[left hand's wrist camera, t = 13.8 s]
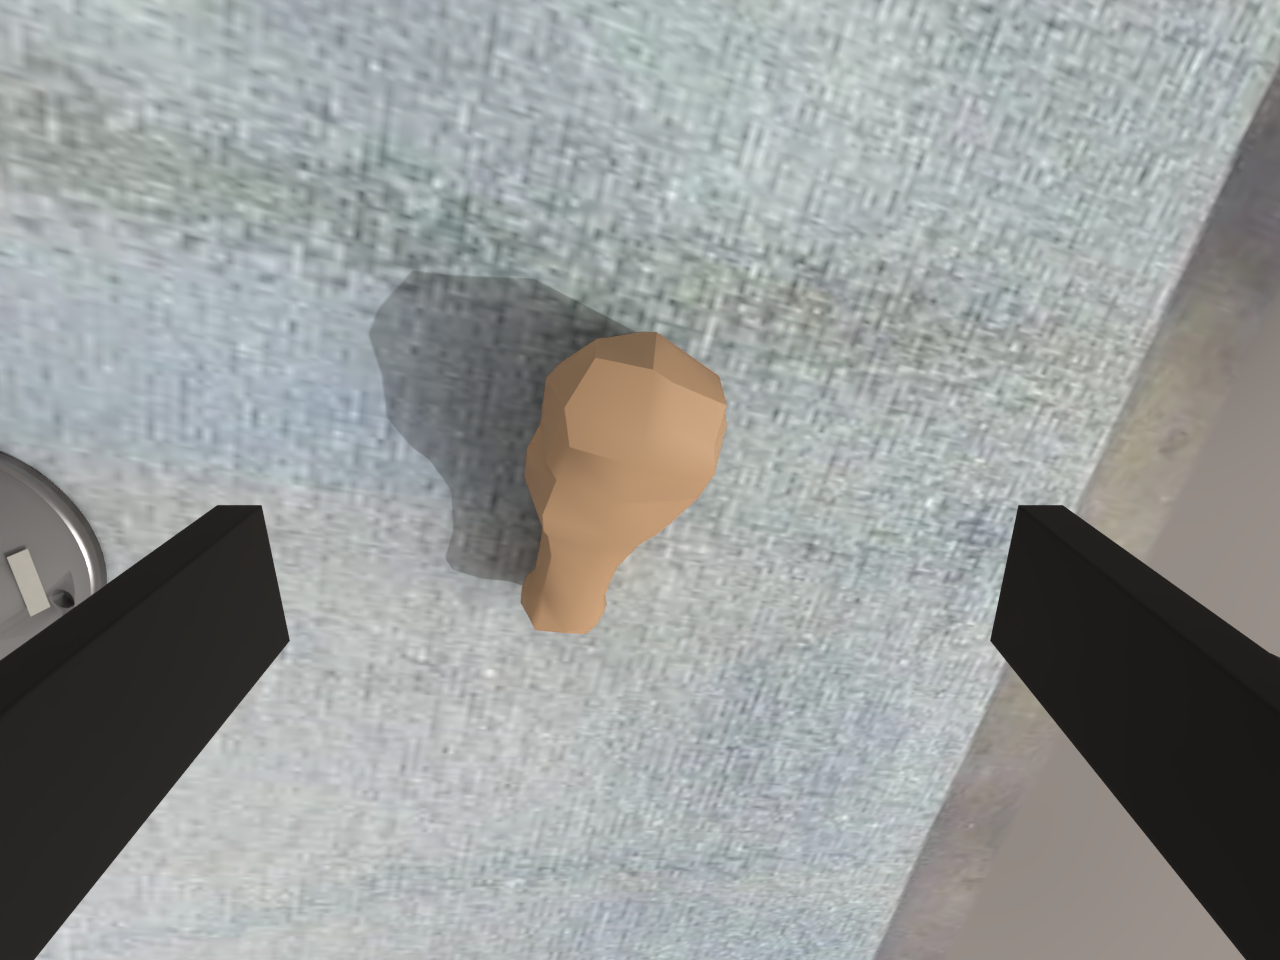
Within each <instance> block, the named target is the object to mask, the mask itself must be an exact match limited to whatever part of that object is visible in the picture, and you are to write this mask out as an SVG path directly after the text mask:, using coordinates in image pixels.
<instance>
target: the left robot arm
mask: <svg viewBox="0 0 1280 960" xmlns="http://www.w3.org/2000/svg"><path fill="white" fill-rule="evenodd" d="M289 641H290V640H289V635H288V630H287V625H286V620H285V616H284V611H283V606H282V601H281V596H280V592H279V587H278V582H277V577H276V572H275V568H274V563H273V558H272V553H271V548H270V544H269V539H268V534H267V529H266V524H265V520H264V515H263V510H262V505H217V506H216V507H214V508H213V509H211V510H210V511H209V512H207V513H206V514H204V515H203V516H202V517H200V518H199V519H197V520H196V521H195V522H193V523H192V524H190V525H189V526H188V527H186V528H185V529H183V530H182V531H181V532H179V533H178V534H176V535H175V536H174V537H172V538H171V539H169V540H168V541H167V542H165V543H164V544H162V545H161V546H160V547H158V548H157V549H155V550H154V551H153V552H151V553H150V554H148V555H147V556H146V557H144V558H143V559H141V560H140V561H139V562H137V563H136V564H134V565H133V566H132V567H130V568H129V569H127V570H126V571H125V572H123V573H122V574H120V575H119V576H118V577H116V578H115V579H113V580H112V581H111V582H109V583H108V584H107V574H106V565H105V561H104V556H103V553H102V550H101V547H100V544H99V542H98V540H97V537H96V535H95V533H94V531H93V530H92V528H91V526H90V524H89V523H88V521H87V520H86V518H85V517H84V515H83V514H82V513H81V511H80V510H79V509H78V508H77V506H76V505H75V504H74V503H73V502H72V501H71V500H70V499H69V498H68V497H67V495H66V494H65V493H63V492H62V491H61V490H60V489H59V488H58V487H57V486H56V485H55V484H53V483H52V482H51V481H49V480H48V479H47V478H46V477H44V476H43V475H41V474H40V473H38V472H37V471H35V470H34V469H32V468H31V467H29V466H27V465H25V464H24V463H22V462H20V461H18V460H16V459H14V458H12V457H9V456H7V455H4V454H2V453H0V960H34V959H35V958H36V957H37V955H38V954H39V953H40V952H41V950H42V949H43V948H44V947H45V945H46V944H47V943H48V942H49V940H50V939H51V938H52V937H53V935H54V934H55V933H56V932H57V930H58V929H59V928H60V927H61V926H62V924H63V923H64V922H65V921H66V919H67V918H68V917H69V916H70V914H71V913H72V912H73V911H74V909H75V908H76V907H77V906H78V904H79V903H80V902H81V901H82V899H83V898H84V897H85V896H86V894H87V893H88V892H89V891H90V889H91V888H92V887H93V886H94V884H95V883H96V882H97V881H98V879H99V878H100V877H101V876H102V874H103V873H104V872H105V871H106V869H107V868H108V867H109V866H110V864H111V863H112V862H113V861H114V859H115V858H116V857H117V856H118V854H119V853H120V852H121V851H122V849H123V848H124V847H125V846H126V844H127V843H128V842H129V841H130V839H131V838H132V837H133V836H134V834H135V833H136V832H137V831H138V829H139V828H140V827H141V826H142V824H143V823H144V822H145V821H146V819H147V818H148V817H149V816H150V814H151V813H152V812H153V811H154V809H155V808H156V807H157V806H158V804H159V803H160V802H161V801H162V799H163V798H164V797H165V796H166V794H167V793H168V792H169V791H170V789H171V788H172V787H173V786H174V784H175V783H176V782H177V781H178V779H179V778H180V777H181V776H182V774H183V773H184V772H185V771H186V769H187V768H188V767H189V766H190V764H191V763H192V762H193V761H194V759H195V758H196V757H197V756H198V755H199V753H200V752H201V751H202V750H203V748H204V747H205V746H206V745H207V743H208V742H209V741H210V740H211V738H212V737H213V736H214V735H215V733H216V732H217V731H218V730H219V728H220V727H221V726H222V725H223V723H224V722H225V721H226V720H227V718H228V717H229V716H230V715H231V713H232V712H233V711H234V710H235V708H236V707H237V706H238V705H239V703H240V702H241V701H242V700H243V698H244V697H245V696H246V695H247V693H248V692H249V691H250V690H251V688H252V687H253V686H254V685H255V683H256V682H257V681H258V680H259V678H260V677H261V676H262V675H263V673H264V672H265V671H266V670H267V668H268V667H269V666H270V665H271V663H272V662H273V661H274V660H275V658H276V657H277V656H278V655H279V653H280V652H281V651H282V650H283V648H284V647H285V646H286V645H287V643H288V642H289ZM990 641H991V642H992V643H993V645H994V646H995V647H996V648H997V650H998V651H999V652H1000V653H1001V655H1002V656H1003V657H1004V658H1005V660H1006V661H1007V662H1008V663H1009V665H1010V666H1011V667H1012V668H1013V670H1014V671H1015V672H1016V673H1017V675H1018V676H1019V677H1020V678H1021V680H1022V681H1023V682H1024V683H1025V685H1026V686H1027V687H1028V688H1029V690H1030V691H1031V692H1032V693H1033V695H1034V696H1035V697H1036V698H1037V700H1038V701H1039V702H1040V703H1041V705H1042V706H1043V707H1044V708H1045V710H1046V711H1047V712H1048V713H1049V715H1050V716H1051V717H1052V718H1053V720H1054V721H1055V722H1056V723H1057V725H1058V726H1059V727H1060V728H1061V730H1062V731H1063V732H1064V733H1065V735H1066V736H1067V737H1068V738H1069V739H1070V741H1071V742H1072V743H1073V744H1074V746H1075V747H1076V748H1077V750H1078V751H1079V752H1080V753H1081V755H1082V756H1083V757H1084V758H1085V759H1086V761H1087V762H1088V763H1089V764H1090V766H1091V767H1092V768H1093V769H1094V771H1095V772H1096V773H1097V774H1098V776H1099V777H1100V778H1101V779H1102V781H1103V782H1104V783H1105V784H1106V786H1107V787H1108V788H1109V789H1110V791H1111V792H1112V793H1113V794H1114V796H1115V797H1116V798H1117V799H1118V801H1119V802H1120V803H1121V804H1122V806H1123V807H1124V808H1125V809H1126V811H1127V812H1128V813H1129V814H1130V816H1131V817H1132V818H1133V819H1134V821H1135V822H1136V823H1137V824H1138V826H1139V827H1140V828H1141V829H1142V831H1143V832H1144V833H1145V834H1146V836H1147V837H1148V838H1149V839H1150V841H1151V842H1152V843H1153V844H1154V846H1155V847H1156V848H1157V849H1158V851H1159V852H1160V853H1161V854H1162V856H1163V857H1164V858H1165V859H1166V861H1167V862H1168V863H1169V864H1170V866H1171V867H1172V868H1173V869H1174V871H1175V872H1176V873H1177V874H1178V876H1179V877H1180V878H1181V879H1182V881H1183V882H1184V883H1185V884H1186V886H1187V887H1188V888H1189V889H1190V891H1191V892H1192V893H1193V894H1194V896H1195V897H1196V898H1197V899H1198V901H1199V902H1200V903H1201V904H1202V906H1203V907H1204V908H1205V909H1206V911H1207V912H1208V913H1209V914H1210V916H1211V917H1212V918H1213V919H1214V921H1215V922H1216V923H1217V924H1218V926H1219V927H1220V928H1221V929H1222V931H1223V932H1224V933H1225V934H1226V935H1227V937H1228V938H1229V939H1230V940H1231V942H1232V943H1233V944H1234V945H1235V947H1236V948H1237V949H1238V950H1239V952H1240V953H1241V954H1242V955H1243V957H1244V958H1245V959H1246V960H1280V658H1279V657H1277V656H1275V655H1273V654H1270V653H1269V652H1267V651H1266V650H1265V649H1263V648H1262V647H1260V646H1259V645H1258V644H1256V643H1255V642H1253V641H1252V640H1251V639H1249V638H1248V637H1246V636H1245V635H1244V634H1242V633H1241V632H1239V631H1238V630H1236V629H1235V628H1234V627H1232V626H1231V625H1230V624H1228V623H1227V622H1225V621H1224V620H1222V619H1221V618H1220V617H1218V616H1217V615H1216V614H1214V613H1213V612H1211V611H1210V610H1209V609H1207V608H1206V607H1204V606H1203V605H1202V604H1200V603H1199V602H1197V601H1196V600H1194V599H1193V598H1192V597H1190V596H1189V595H1188V594H1186V593H1185V592H1183V591H1182V590H1180V589H1179V588H1178V587H1176V586H1175V585H1173V584H1172V583H1171V582H1169V581H1168V580H1167V579H1165V578H1164V577H1162V576H1161V575H1159V574H1158V573H1157V572H1155V571H1154V570H1153V569H1151V568H1150V567H1148V566H1147V565H1146V564H1144V563H1143V562H1141V561H1140V560H1139V559H1137V558H1136V557H1134V556H1133V555H1132V554H1130V553H1129V552H1127V551H1126V550H1125V549H1123V548H1122V547H1120V546H1119V545H1118V544H1116V543H1115V542H1113V541H1112V540H1111V539H1109V538H1108V537H1106V536H1105V535H1104V534H1102V533H1101V532H1099V531H1098V530H1097V529H1095V528H1094V527H1092V526H1091V525H1090V524H1088V523H1087V522H1085V521H1084V520H1083V519H1081V518H1080V517H1078V516H1077V515H1076V514H1074V513H1073V512H1071V511H1070V510H1069V509H1067V508H1066V507H1064V506H1063V505H1018V510H1017V515H1016V520H1015V524H1014V529H1013V534H1012V539H1011V544H1010V548H1009V553H1008V558H1007V563H1006V568H1005V572H1004V577H1003V582H1002V587H1001V592H1000V596H999V601H998V606H997V611H996V616H995V620H994V625H993V630H992V635H991V640H990Z"/></svg>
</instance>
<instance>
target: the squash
mask: <svg viewBox="0 0 1280 960" xmlns="http://www.w3.org/2000/svg"><path fill="white" fill-rule="evenodd" d="M726 406H727V405H726V401H725V397H724V393H723V390H722V386H721V382H720V378H719V376H718V375H717V374H715V373H714V372H712V371H711V370H710V369H708V368H707V367H705V366H704V365H702V364H701V363H700V362H698V361H697V360H695V359H694V358H693V357H691V356H690V355H688V354H687V353H685V352H684V351H683V350H681V349H680V348H678V347H677V346H676V345H674V344H673V343H671V342H670V341H668V340H667V339H666V338H664V337H663V336H661V335H660V334H658V333H657V332H637V333H631V334H625V335H619V336H614V337H607V338H598V339H596V340H594V341H593V342H591V343H589V344H588V345H586V346H585V347H583V348H582V349H580V350H579V351H577V352H576V353H574V354H573V355H571V356H570V357H568V358H566V359H565V360H563V361H562V362H560V363H559V364H558V365H557V366H556V367H555V368H554V370H553V371H552V372H551V373H550V374H549V375H548V376H547V378H546V382H545V390H544V398H543V405H542V413H541V421H540V425H539V427H538V428H537V430H536V432H535V434H534V436H533V438H532V440H531V442H530V443H529V445H528V447H527V453H526V464H525V475H524V478H525V481H526V484H527V486H528V489H529V492H530V495H531V497H532V500H533V503H534V506H535V509H536V511H537V514H538V517H539V520H540V523H541V525H542V534H541V541H540V546H539V551H538V556H537V561H536V566H535V569H534V570H533V571H532V572H530V573H529V574H528V575H527V576H526V579H525V581H524V584H523V586H522V594H521V604H522V606H523V607H524V609H525V611H526V613H527V615H528V617H529V618H530V620H531V622H532V624H533V626H534V628H535V630H540V631H550V632H561V633H578V634H586V633H588V632H589V631H590V630H591V629H592V628H593V627H595V626H596V625H597V623H598V621H599V620H600V618H601V616H602V615H603V613H604V611H605V607H606V604H607V603H606V597H605V593H606V591H607V588H608V586H609V584H610V581H611V579H612V577H613V575H614V573H615V571H616V569H617V567H618V566H619V565H620V564H621V562H622V561H623V560H624V559H625V558H626V557H627V556H628V555H629V554H630V553H631V552H632V551H633V550H634V549H635V548H636V547H637V546H638V545H639V544H641V543H643V542H644V541H646V540H648V539H650V538H651V537H653V536H655V535H657V534H658V533H659V532H660V531H661V530H663V529H664V528H665V527H666V526H668V525H669V524H670V523H671V522H673V521H674V520H675V519H676V518H677V517H678V516H679V515H680V514H681V513H682V512H683V511H685V510H686V509H687V508H688V507H689V506H690V505H691V504H692V503H693V502H694V501H695V500H696V499H697V498H698V497H699V496H700V494H701V493H702V491H703V490H704V489H705V487H706V486H707V484H708V483H709V482H710V480H711V479H712V477H713V476H714V474H715V470H716V466H717V462H718V458H719V454H720V449H721V445H722V441H723V437H724V434H725V430H726V427H727V425H726V418H725V409H726Z"/></svg>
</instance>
